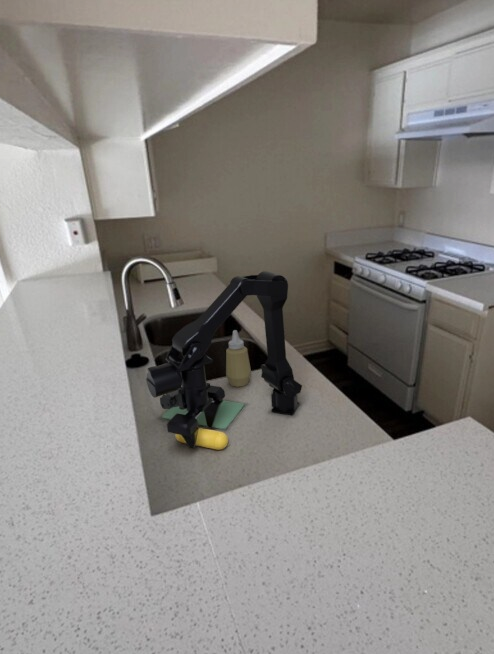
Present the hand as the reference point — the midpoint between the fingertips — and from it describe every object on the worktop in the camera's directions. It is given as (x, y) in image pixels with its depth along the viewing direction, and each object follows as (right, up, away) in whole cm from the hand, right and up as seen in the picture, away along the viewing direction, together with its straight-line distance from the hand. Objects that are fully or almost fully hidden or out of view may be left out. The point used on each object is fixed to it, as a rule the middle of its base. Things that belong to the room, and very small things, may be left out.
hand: (201, 437), depth 105 cm
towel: (-2, +4, +15) cm, 16 cm away
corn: (0, -2, +1) cm, 2 cm away
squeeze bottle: (+7, +11, +30) cm, 33 cm away
